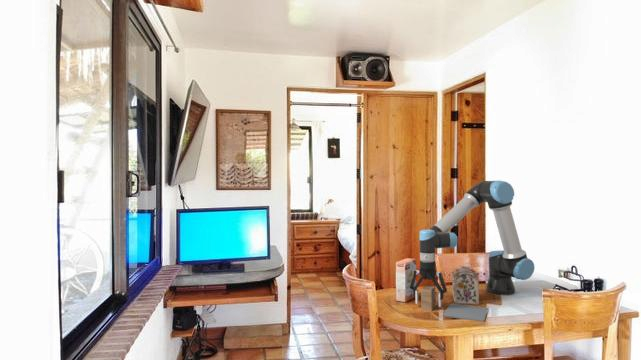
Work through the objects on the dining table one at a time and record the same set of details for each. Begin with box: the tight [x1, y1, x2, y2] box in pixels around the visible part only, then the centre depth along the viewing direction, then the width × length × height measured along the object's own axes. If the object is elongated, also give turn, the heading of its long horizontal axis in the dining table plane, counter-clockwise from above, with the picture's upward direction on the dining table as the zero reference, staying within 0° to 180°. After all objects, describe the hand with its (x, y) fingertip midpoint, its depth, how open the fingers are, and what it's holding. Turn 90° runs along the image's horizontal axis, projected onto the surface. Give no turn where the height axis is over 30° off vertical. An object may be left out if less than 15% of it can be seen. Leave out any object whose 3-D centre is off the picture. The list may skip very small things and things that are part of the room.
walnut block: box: [420, 284, 436, 312], centre depth 202 cm, size 9×5×10 cm, turn 152°
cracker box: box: [395, 257, 417, 303], centre depth 217 cm, size 14×6×21 cm, turn 143°
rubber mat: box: [442, 303, 489, 323], centre depth 193 cm, size 20×18×1 cm
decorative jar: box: [452, 265, 480, 306], centre depth 212 cm, size 12×12×18 cm
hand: (428, 304), depth 202 cm, fingers open, 11 cm apart
